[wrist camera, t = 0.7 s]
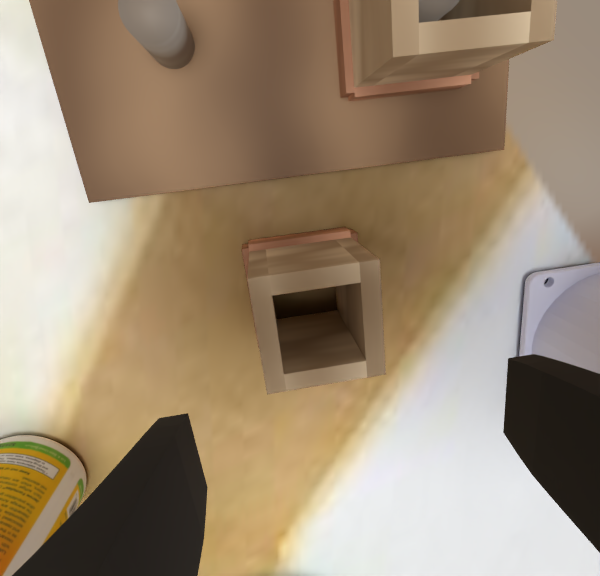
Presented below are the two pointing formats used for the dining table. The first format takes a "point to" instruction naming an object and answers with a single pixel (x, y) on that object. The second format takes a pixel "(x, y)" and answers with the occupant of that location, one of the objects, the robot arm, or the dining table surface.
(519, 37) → the seated sleeve
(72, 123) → the pin board
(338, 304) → the banded sleeve
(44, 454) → the supplement bottle
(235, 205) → the dining table surface
